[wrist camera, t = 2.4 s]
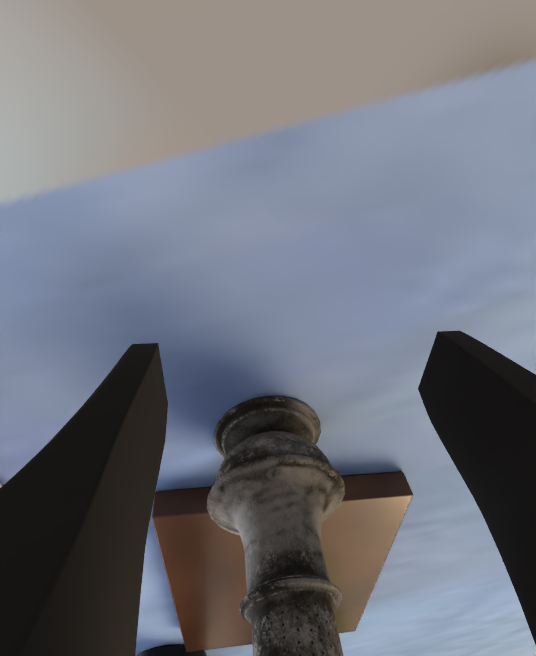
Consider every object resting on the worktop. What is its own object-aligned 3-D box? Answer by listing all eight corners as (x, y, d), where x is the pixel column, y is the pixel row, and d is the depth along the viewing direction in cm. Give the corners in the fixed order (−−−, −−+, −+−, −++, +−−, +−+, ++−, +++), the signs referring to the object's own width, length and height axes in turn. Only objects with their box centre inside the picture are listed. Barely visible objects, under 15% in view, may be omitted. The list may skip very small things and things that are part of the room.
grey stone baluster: (291, 372, 17) (390, 789, 8) (344, 441, 20) (462, 796, 11) (183, 427, 19) (147, 845, 9) (248, 484, 22) (276, 836, 12)
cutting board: (187, 630, 33) (186, 652, 31) (154, 491, 21) (151, 517, 20) (350, 610, 34) (355, 631, 33) (403, 470, 23) (414, 494, 21)
